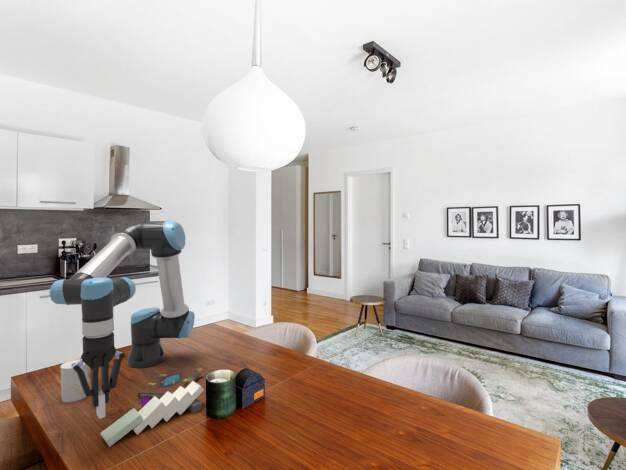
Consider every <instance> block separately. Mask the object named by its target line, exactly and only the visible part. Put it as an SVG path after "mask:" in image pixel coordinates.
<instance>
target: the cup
mask: <svg viewBox="0 0 626 470" xmlns="http://www.w3.org/2000/svg"><path fill="white" fill-rule="evenodd" d="M80 359H81V358H78V359H71V360H69V361H66V362H64V363H62V364H61V365H60V367H59V368H60V389H61V390H60V391H61V392H60V394H61V395H60V396H61V402H64V403H73V402H77V401H81V400H83V399H85V398H86V397H87V396H86V395H85V394H84V392H83V389H82V386H81V383H80V380H79V378H78V375H77V372H76V371H75V370H74V369H73V368H72V364H73V363H77V362H78V361H79V360H80ZM83 366H84V367H83V369H82V370H83V371H84V374H85V377H86V380H87V382H88V385H89V383H90V381H89V366H88V365H87V364H85V363H83ZM89 386H90V385H89Z"/></svg>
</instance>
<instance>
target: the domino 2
mask: <svg viewBox="0 0 626 470" xmlns="http://www.w3.org/2000/svg"><path fill="white" fill-rule="evenodd" d="M165 407H166V406H165V405H164V404H163V402H162V401H160V400H159V399H158V398H157V397H155V396H154V397H153V398H152V399H151V400H149V401H148V402H147V403H146V404H145V405H144V406H143V407H142V408H140V410H139V411H137V412H138V413H139V414H140V415H141V416H142V418H143V421H142V422H141V423H139V424H138V425H137V426H136V427H134V428H133V429H132V431H133V432H134V433H135V434H136V435H137V436H138V435H139V434H140V433H142V431H143V430H144V429H145V428H147V426H149V425H148V424H149V423H150V422H151V421H152V420H153V419H154V418H155V417H156V416H157V415H158V414H159V413H160V412H161V411H162V410H163V409H164V408H165Z"/></svg>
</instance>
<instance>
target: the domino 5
mask: <svg viewBox="0 0 626 470" xmlns="http://www.w3.org/2000/svg"><path fill="white" fill-rule="evenodd" d="M185 389H186V390H187V391H188V392H189V393H190V394H191V395H192V396H191V397H190V398H189V399H188V400H187V401H186V402H185V403H184V404H183V405H182V406H181V407H180V408H179V409H178V411H177V412H176V413H177V414H178V415H179V416H181V415H182V414H183V413H184V412H185V411H186V410H188V409H187V408H188V407H189V405H190V404H191V403H192V402H193V401H194V400H195V399H197V398H198V397H199V396H200V395H201V394H202V393H203V391H204V388H203V387H202V385H200V384H199V383H197V382H196V381H195V382H194V381H192V382H191V383H190V384H189V385H188V386H187V387H186V388H185Z"/></svg>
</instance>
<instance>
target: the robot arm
mask: <svg viewBox="0 0 626 470" xmlns="http://www.w3.org/2000/svg"><path fill="white" fill-rule="evenodd" d="M185 246H186V233H185V230H184V228H183V226H182V224H180V223H179V222H177V221H171V220H170V221H169V220H158V221H157V220H152V221H151V220H150V221H146V220H141V221H136V222H133V223H130V224H128V225H126V226H124V227H121V229H119V230H118V231H116V232H115V233H114V234H113V235H111V237H110V239H109V242H108V243H107V244H106V245H105V246H104V247H102V249H101V250H99V251H98V252H97V253H96V254H95V255H94V256H93V257H92V258H91V259H90V260H89V261H88V262H86V263H85V264H84V265H83V266H82V267H81V268H80V269H79V270H77V271H76V272H75V274H74V275H71V277H70V278H68V279H66V278H63V279H57V280H55V281H54V282H52V284H51V286H50V289H49V297H50V300H51V301H52V302H53V303H54V304H56V305H66V306H70V305H74V306H75V305H76V306H77V305H81V323H82V324H81V330H82V332H81V333H82V335H83V336H82V339H81V340H82V354H81V356H80V358H79V359H80V360H79V361H78V362H77V363H73V364H72V368H73V369H74V370H75V371H76V372H77V375H78V378H79V380H80V383H81V386H82V389H83V392H84V394H85V395H86V397H91V404H92V407H93V408H95V409H96V412H95V413H96V416H97V418H98V419H99V420H100V419H103V418H105V417H106V404H108V403H109V402H110V401H109V400H110V397H109V396H110V395H109V394H110V392H111V390H112V389H115V388H116V387H117V383H118V380H119V379H118V378H119V373H120V370H121V364H122V362H123V360H124V358H125V356H126V354H125V352H123V351H121V350H119V351H118V350H117V349H116V346H115V333H114V331H115V323H114V322H115V321H114V307H116V306H118V305H121V304H122V303H123V304H124V303H126V302H127V301H128V300H131V299H132V298H133V297H134V295H135V294H136V287H137V286H136V284H135V283H134V281H133V280H132V279H131V278H130V277H129V278H128V277H117V278H115V279H112V278H110V277H108V276H109V275H110V273H111V272H113V270H114V269H115V268H116V267H118V265H119V264H120V263H121V262H122V261H123V260H124V259H125V258H126V257H127V256H129V255H132V254H133V253H134V252H135V251H138V250H143V251H144V250H147V251H148V250H149V251H150V253H151V257H153V258H155V259H156V267H157V272H158V279H159V284H160V286H159V287H160V291H161V299H162V306H163V307H162V309H160V307H157V306H156V307H147V308H143V309H140V310H137V311H135V312H133V313H132V314H131V316H130V332H131V333H130V337H131V338H130V339H131V347H130V350H129V353H128V355H127V361H126V363H127V366H128V367H130V368H135V369H137V368H139V369H140V368H148V367H152V366H155V365H158V364H160V363H162V362H163V361H164V360H165V358H166V356H165V351H164V348H163V345H162V343H161V339H186V338H189V336H190V335H191V334H192V331H193V329H194V325H195V312H194V311H192V310H190V308H189V305H188V304H186V303H185V298H184V291H183V290H184V289H183V283H182V275H181V268H180V258H179V256H180V254H181V253H182V250H184V248H185ZM113 358H114V359H113ZM112 359H113V364H112V367H111V372H110V376H109V369H110V363H111V362H112ZM83 363H85V364H87V365H88V368H89V370H90V385H88V382H87V380H86V377H85V374H84V371H83V370H82V369H83V367H84V366H83ZM99 371H100V373H101V374H100V376H101V378H100V379H101V380H100V381H101V390H100V391H99V388H100V386H99V385H100V384H99Z"/></svg>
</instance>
